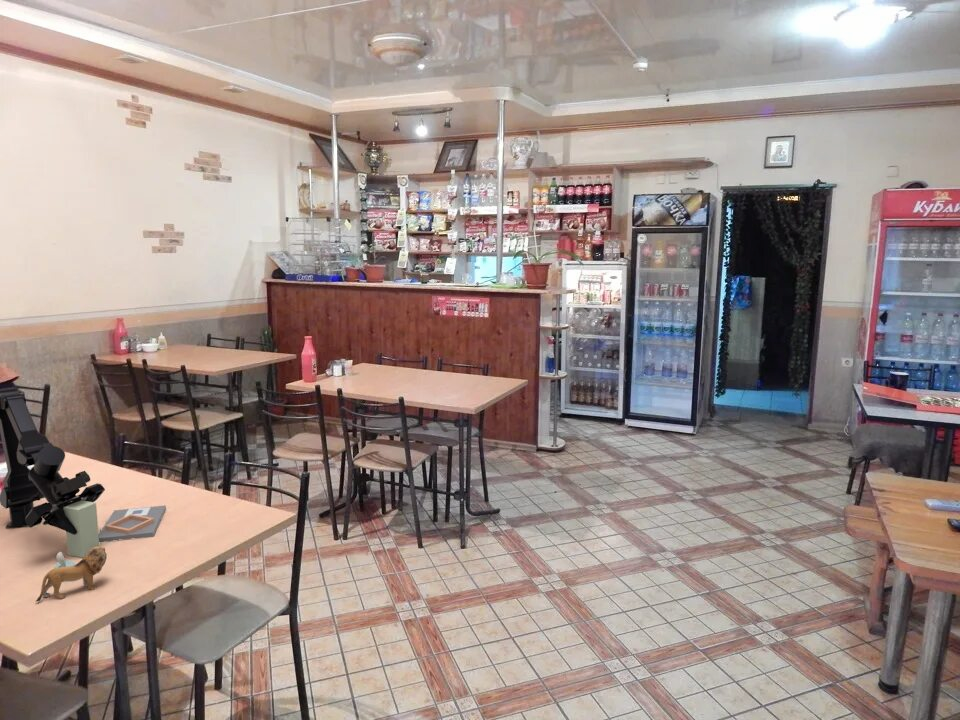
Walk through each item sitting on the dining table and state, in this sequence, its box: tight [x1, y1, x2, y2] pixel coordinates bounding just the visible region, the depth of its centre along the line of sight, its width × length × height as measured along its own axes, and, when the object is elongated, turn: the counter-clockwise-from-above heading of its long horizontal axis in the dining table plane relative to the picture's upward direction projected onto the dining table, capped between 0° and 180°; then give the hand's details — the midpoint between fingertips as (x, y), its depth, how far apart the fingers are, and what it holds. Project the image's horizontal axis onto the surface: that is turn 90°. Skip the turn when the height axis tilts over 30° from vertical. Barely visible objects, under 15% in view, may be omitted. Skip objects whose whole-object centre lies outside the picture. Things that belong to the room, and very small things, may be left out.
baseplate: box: [98, 505, 167, 543], centre depth 179 cm, size 20×14×2 cm
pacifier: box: [53, 551, 77, 569], centre depth 151 cm, size 7×6×6 cm
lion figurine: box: [35, 546, 108, 603], centre depth 143 cm, size 15×5×9 cm, turn 139°
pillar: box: [64, 500, 101, 559], centre depth 161 cm, size 5×5×13 cm
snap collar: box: [105, 514, 154, 535], centre depth 175 cm, size 9×9×1 cm
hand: (85, 529), depth 161 cm, fingers closed on pillar, 5 cm apart
